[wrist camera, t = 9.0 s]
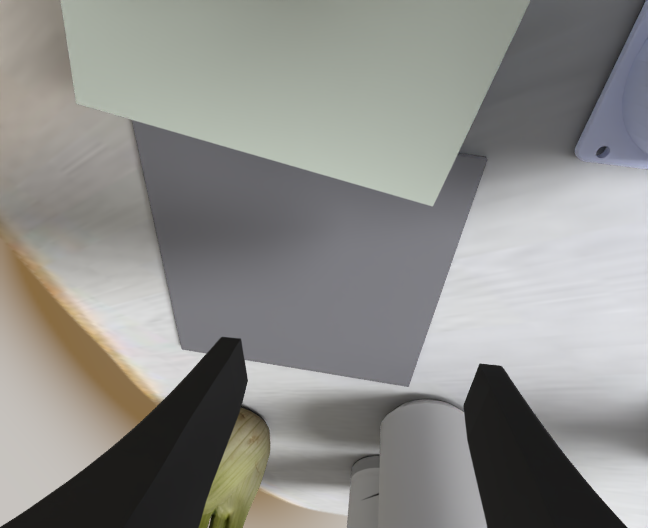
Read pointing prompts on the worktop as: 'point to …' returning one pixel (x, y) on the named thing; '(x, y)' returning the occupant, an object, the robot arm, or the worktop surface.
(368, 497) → the travel mug
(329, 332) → the mat
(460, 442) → the can
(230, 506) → the fennel bulb
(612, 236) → the worktop surface
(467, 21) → the lid
